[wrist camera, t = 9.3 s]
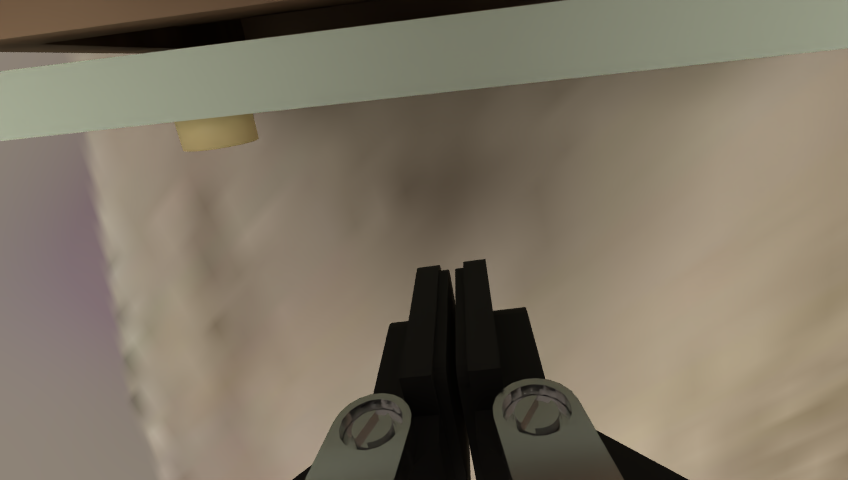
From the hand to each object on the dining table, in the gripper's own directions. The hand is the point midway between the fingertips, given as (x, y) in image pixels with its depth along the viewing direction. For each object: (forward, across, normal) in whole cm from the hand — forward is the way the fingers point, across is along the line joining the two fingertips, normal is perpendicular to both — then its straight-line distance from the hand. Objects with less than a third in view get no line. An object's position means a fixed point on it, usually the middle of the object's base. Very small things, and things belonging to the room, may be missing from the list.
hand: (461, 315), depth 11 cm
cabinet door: (+10, -2, -5) cm, 12 cm away
